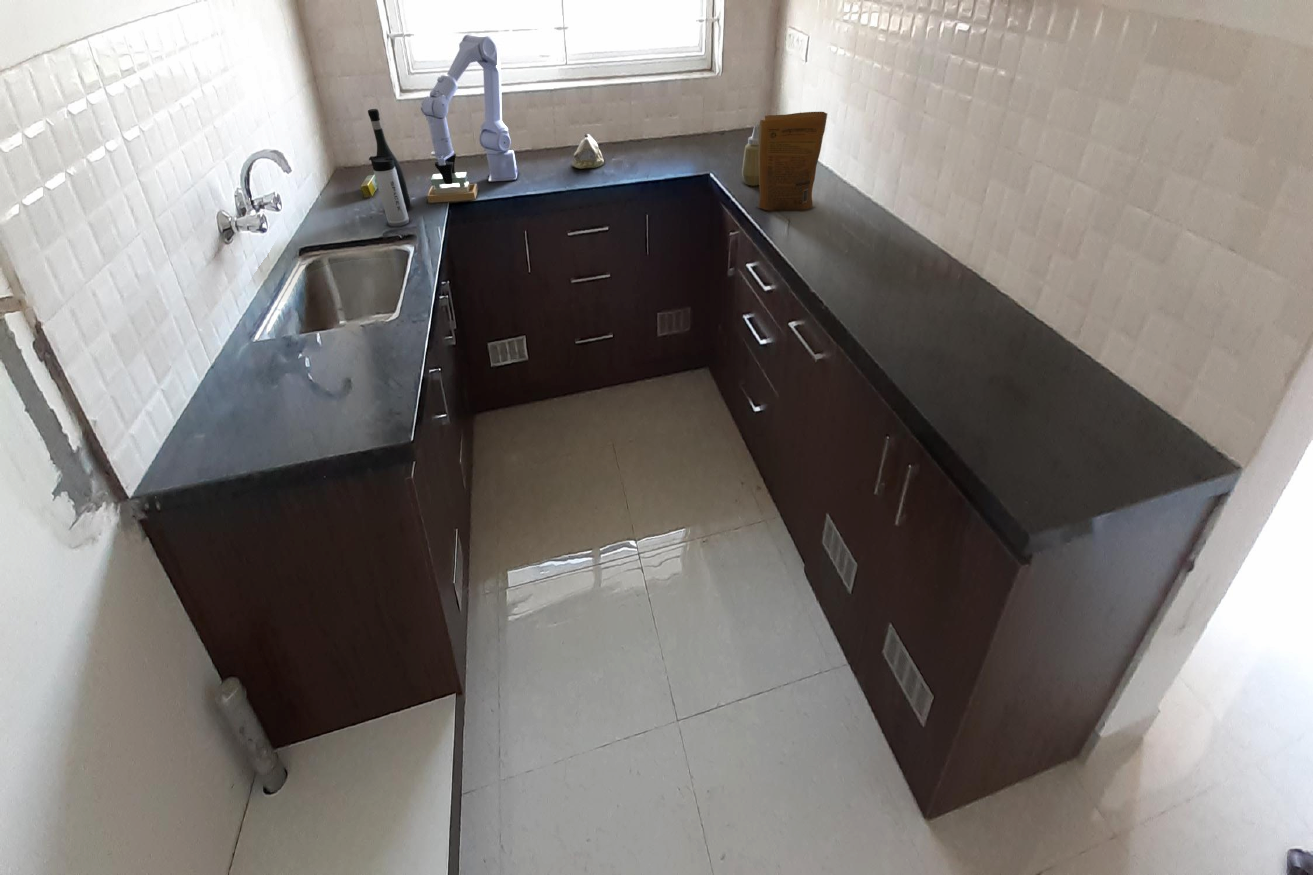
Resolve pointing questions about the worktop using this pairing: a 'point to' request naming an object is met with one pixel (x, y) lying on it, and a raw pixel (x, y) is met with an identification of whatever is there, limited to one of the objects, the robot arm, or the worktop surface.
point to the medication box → (369, 186)
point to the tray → (453, 195)
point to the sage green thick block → (456, 178)
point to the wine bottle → (388, 153)
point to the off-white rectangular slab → (451, 189)
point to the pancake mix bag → (789, 159)
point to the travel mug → (390, 190)
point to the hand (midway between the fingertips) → (450, 181)
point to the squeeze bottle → (751, 159)
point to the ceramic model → (588, 154)
